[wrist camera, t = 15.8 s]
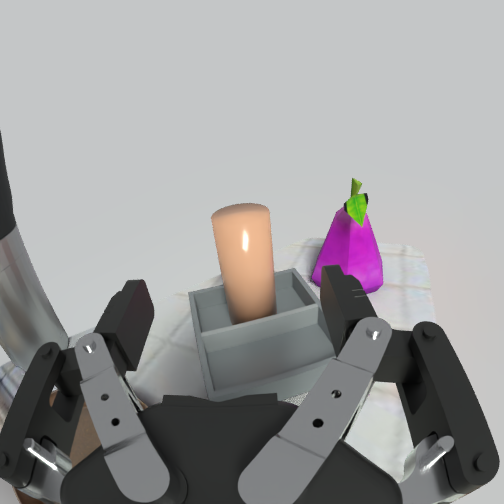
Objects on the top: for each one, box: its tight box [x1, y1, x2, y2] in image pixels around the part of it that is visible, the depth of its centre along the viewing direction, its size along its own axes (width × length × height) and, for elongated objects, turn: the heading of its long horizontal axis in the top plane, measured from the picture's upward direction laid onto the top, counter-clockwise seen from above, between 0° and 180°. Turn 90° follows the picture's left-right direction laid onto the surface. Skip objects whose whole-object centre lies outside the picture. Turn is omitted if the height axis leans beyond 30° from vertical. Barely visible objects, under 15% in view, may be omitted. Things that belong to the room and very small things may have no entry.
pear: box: [312, 178, 383, 294], centre depth 37 cm, size 11×11×15 cm
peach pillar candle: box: [211, 203, 277, 325], centre depth 31 cm, size 6×6×13 cm
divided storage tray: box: [188, 268, 336, 402], centre depth 31 cm, size 14×16×4 cm
